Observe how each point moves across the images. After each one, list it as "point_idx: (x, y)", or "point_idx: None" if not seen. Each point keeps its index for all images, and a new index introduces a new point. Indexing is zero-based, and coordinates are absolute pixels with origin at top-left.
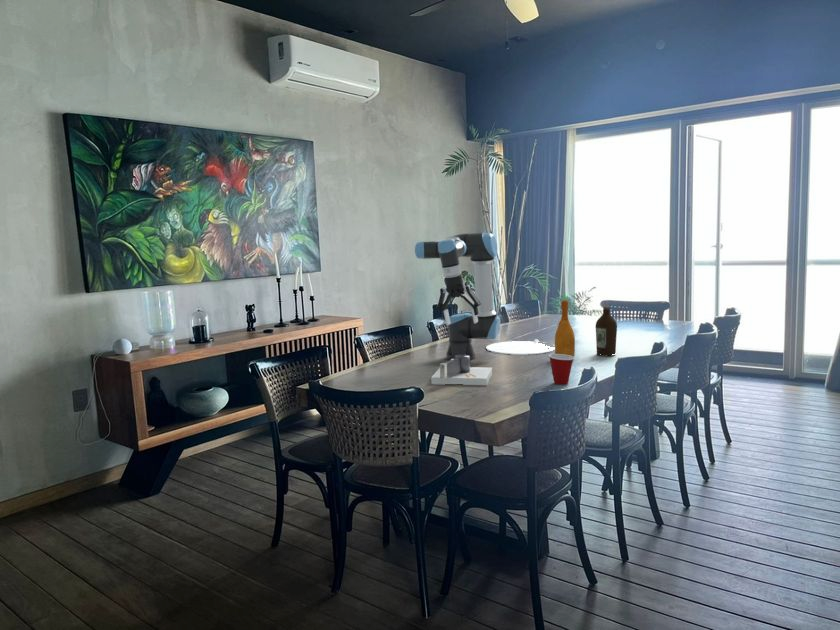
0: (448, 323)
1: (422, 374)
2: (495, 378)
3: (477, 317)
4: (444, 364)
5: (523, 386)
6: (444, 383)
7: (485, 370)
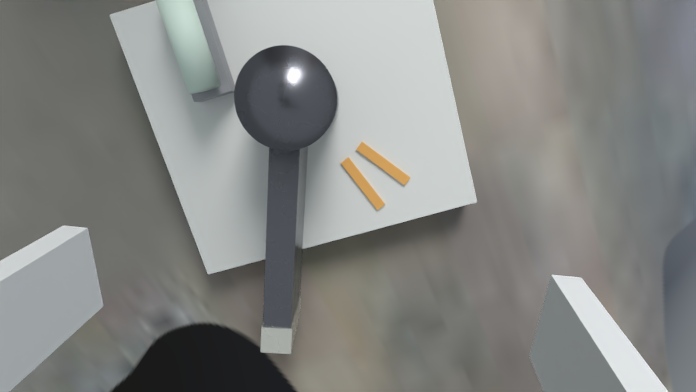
0: (86, 294)
1: (59, 91)
2: (460, 37)
3: (615, 323)
4: (290, 353)
5: (634, 150)
6: None
7: (405, 18)
